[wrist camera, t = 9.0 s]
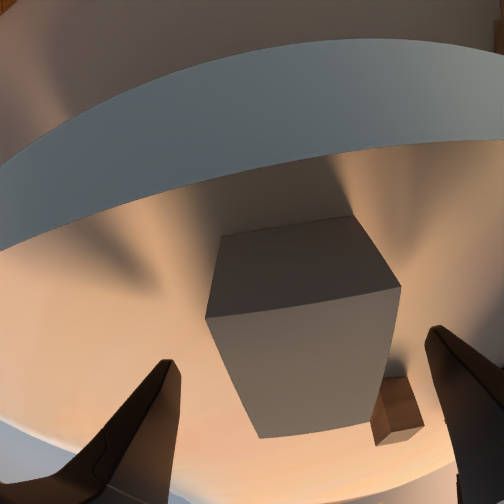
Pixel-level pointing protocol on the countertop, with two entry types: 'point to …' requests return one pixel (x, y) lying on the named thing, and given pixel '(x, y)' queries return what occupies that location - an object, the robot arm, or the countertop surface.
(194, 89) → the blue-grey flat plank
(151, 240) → the countertop surface
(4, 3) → the disposable coffee cup
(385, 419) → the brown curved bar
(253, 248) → the grey rectangular block
